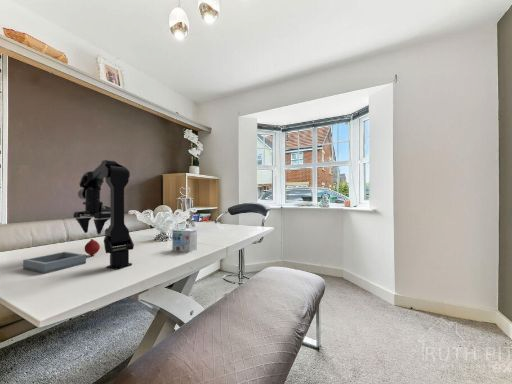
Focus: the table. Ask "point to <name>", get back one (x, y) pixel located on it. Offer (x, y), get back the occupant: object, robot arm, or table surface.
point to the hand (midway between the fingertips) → (92, 233)
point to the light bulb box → (184, 240)
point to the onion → (92, 247)
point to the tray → (54, 262)
